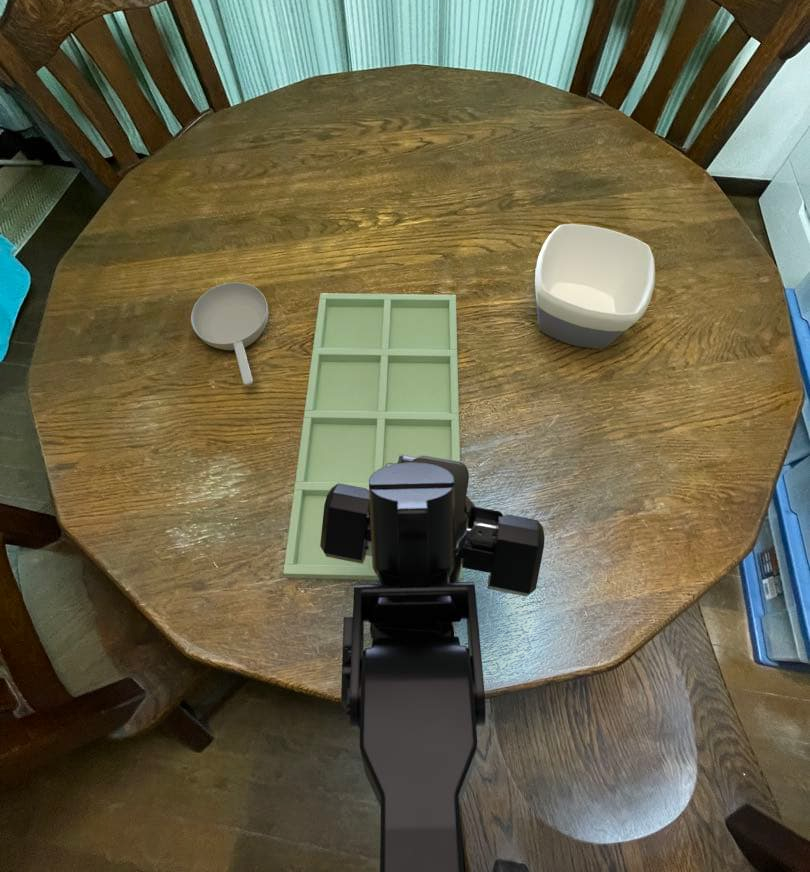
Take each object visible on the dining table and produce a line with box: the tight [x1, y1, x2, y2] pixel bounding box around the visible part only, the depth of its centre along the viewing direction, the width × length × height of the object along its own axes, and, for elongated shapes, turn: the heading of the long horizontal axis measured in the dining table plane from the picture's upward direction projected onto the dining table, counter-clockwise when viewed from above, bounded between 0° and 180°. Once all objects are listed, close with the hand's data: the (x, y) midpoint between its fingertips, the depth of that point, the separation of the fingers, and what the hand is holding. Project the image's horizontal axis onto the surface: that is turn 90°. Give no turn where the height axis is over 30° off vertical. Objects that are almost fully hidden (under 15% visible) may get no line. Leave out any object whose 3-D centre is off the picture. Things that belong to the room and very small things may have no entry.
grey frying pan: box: [190, 281, 269, 386], centre depth 83 cm, size 11×18×4 cm, turn 21°
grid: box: [282, 292, 464, 582], centre depth 77 cm, size 39×20×2 cm, turn 178°
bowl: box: [534, 223, 656, 350], centre depth 82 cm, size 15×15×11 cm
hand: (438, 495), depth 59 cm, fingers closed on cork, 5 cm apart
